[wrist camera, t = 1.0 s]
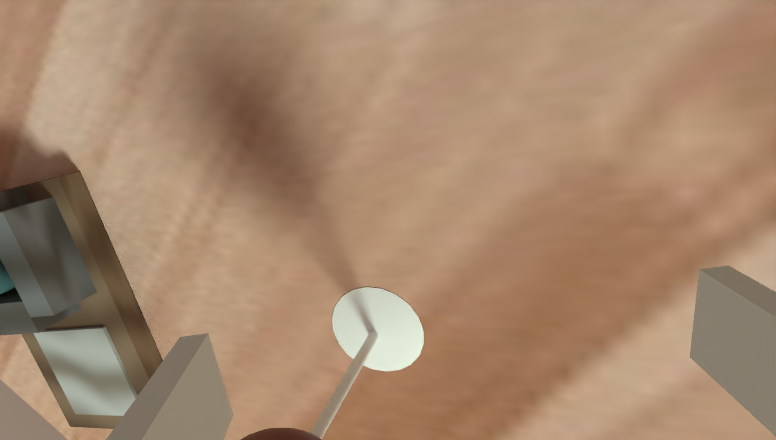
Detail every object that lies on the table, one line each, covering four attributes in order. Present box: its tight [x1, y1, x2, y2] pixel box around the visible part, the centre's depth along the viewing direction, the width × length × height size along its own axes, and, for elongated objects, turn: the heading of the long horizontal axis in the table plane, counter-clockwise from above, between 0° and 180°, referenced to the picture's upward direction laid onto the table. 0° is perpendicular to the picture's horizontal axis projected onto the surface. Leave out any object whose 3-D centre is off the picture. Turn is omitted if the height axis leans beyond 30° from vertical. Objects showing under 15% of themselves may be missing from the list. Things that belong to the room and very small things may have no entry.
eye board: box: [0, 172, 162, 429], centre depth 42 cm, size 26×15×6 cm, turn 14°
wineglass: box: [241, 287, 424, 440], centre depth 26 cm, size 8×9×20 cm
